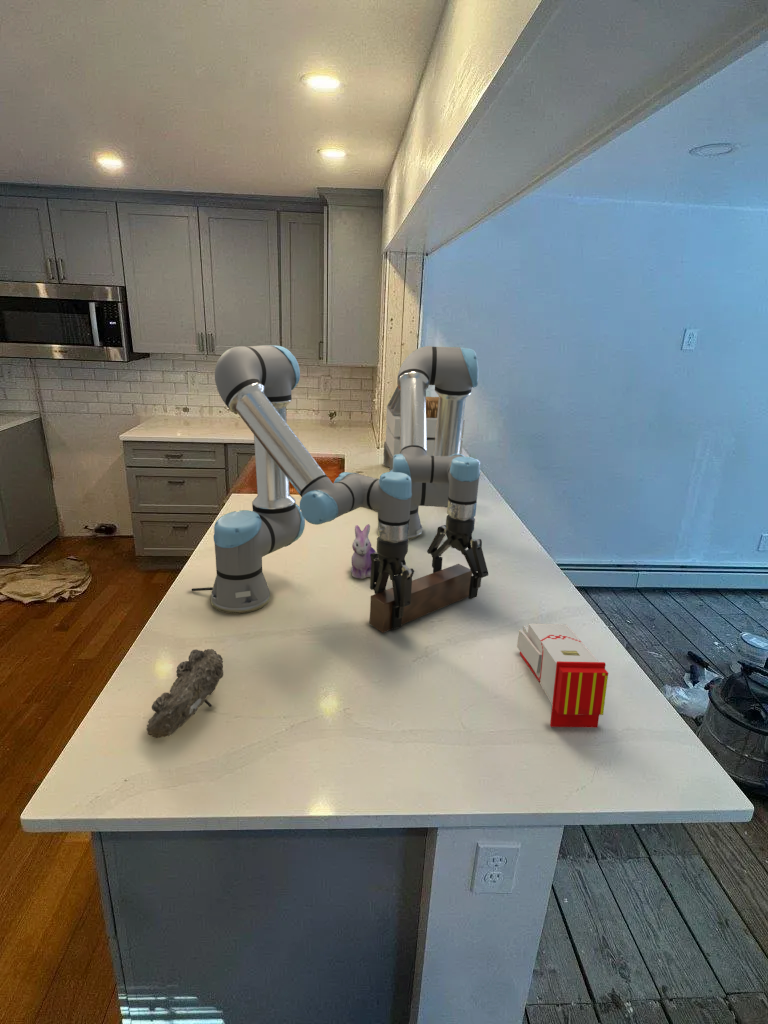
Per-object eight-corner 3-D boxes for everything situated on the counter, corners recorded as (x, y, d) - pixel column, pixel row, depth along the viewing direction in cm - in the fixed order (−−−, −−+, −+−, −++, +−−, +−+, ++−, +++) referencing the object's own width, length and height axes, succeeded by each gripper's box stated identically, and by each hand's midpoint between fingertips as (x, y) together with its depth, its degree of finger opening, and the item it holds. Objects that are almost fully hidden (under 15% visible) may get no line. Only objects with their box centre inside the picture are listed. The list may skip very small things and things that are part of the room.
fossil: (175, 650, 120) (224, 619, 115) (206, 680, 123) (256, 650, 118) (122, 731, 101) (179, 697, 96) (161, 764, 104) (219, 733, 99)
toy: (562, 608, 134) (617, 669, 105) (557, 660, 137) (609, 734, 107) (511, 607, 134) (552, 667, 104) (507, 659, 136) (545, 733, 107)
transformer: (382, 463, 289) (386, 382, 275) (445, 464, 293) (451, 384, 279) (390, 482, 257) (394, 392, 243) (460, 483, 261) (468, 394, 247)
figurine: (357, 582, 163) (358, 534, 158) (342, 568, 171) (343, 521, 166) (386, 576, 167) (388, 529, 162) (370, 563, 176) (372, 517, 171)
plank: (383, 633, 139) (384, 604, 136) (369, 623, 142) (370, 595, 140) (469, 596, 159) (472, 570, 156) (456, 588, 162) (458, 563, 160)
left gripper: (356, 528, 139) (354, 612, 147) (407, 553, 126) (401, 643, 134) (380, 522, 144) (376, 603, 152) (431, 546, 131) (424, 633, 139)
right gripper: (418, 505, 156) (413, 575, 163) (488, 533, 139) (480, 610, 146) (437, 500, 161) (431, 568, 168) (507, 527, 143) (498, 601, 150)
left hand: (388, 622), depth 143 cm, fingers closed on plank, 5 cm apart
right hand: (454, 588), depth 157 cm, fingers open, 13 cm apart
